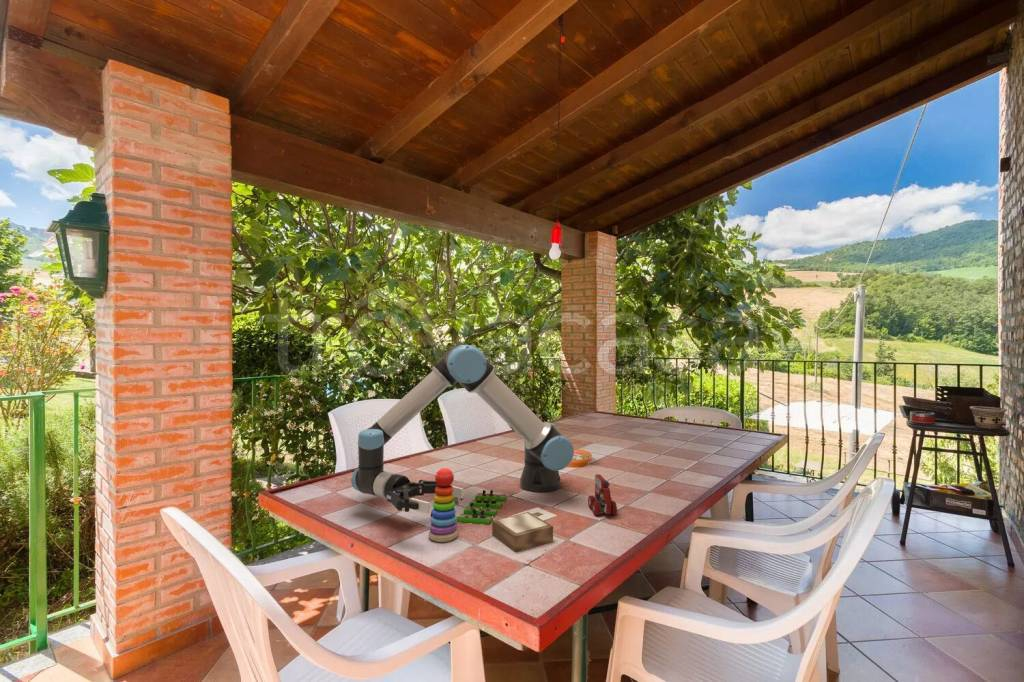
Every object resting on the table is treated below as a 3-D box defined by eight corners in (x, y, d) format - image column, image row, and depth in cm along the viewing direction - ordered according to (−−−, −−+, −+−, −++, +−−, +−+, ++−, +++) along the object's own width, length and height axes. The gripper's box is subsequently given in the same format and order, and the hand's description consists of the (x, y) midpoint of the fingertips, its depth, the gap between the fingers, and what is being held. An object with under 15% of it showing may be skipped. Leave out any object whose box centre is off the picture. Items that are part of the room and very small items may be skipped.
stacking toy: (452, 544, 123) (452, 473, 122) (424, 542, 124) (423, 472, 124) (461, 532, 130) (461, 465, 130) (434, 530, 132) (434, 464, 132)
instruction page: (537, 507, 149) (537, 506, 149) (557, 516, 142) (557, 515, 142) (508, 517, 141) (508, 516, 141) (527, 526, 134) (527, 525, 134)
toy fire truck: (597, 519, 139) (597, 485, 139) (586, 505, 152) (586, 473, 152) (619, 518, 140) (619, 484, 140) (607, 504, 152) (607, 472, 152)
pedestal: (528, 525, 135) (528, 511, 135) (553, 541, 125) (553, 525, 124) (492, 535, 128) (492, 519, 128) (515, 552, 118) (515, 535, 118)
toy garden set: (490, 527, 135) (489, 511, 135) (428, 522, 139) (428, 507, 139) (506, 500, 158) (506, 486, 158) (453, 496, 162) (452, 483, 162)
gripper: (422, 488, 148) (475, 500, 137) (358, 512, 128) (413, 530, 116) (422, 464, 148) (474, 475, 137) (357, 485, 128) (413, 500, 116)
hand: (446, 500), depth 126 cm, fingers open, 13 cm apart
